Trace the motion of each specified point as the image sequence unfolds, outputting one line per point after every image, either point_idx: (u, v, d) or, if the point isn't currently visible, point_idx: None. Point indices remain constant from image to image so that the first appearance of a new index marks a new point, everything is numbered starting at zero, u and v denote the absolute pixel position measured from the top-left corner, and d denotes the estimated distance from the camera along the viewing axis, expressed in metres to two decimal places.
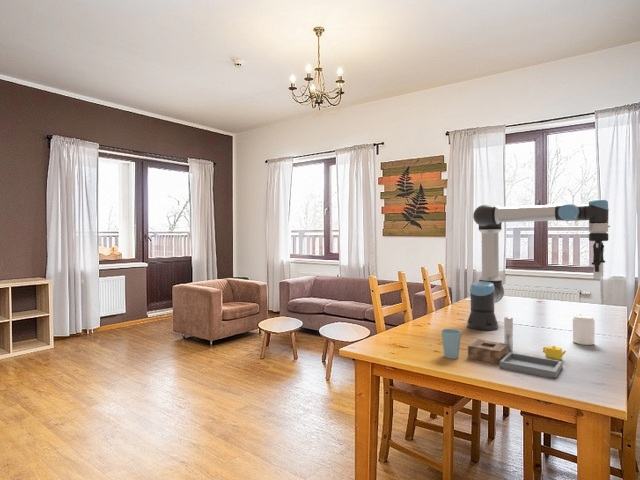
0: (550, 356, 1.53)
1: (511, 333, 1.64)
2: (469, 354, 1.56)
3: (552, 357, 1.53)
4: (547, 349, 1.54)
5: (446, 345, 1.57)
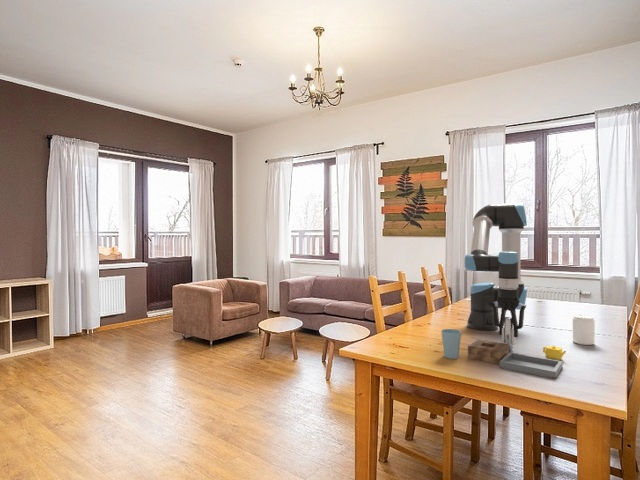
0: (550, 356, 1.53)
1: (511, 333, 1.64)
2: (469, 354, 1.56)
3: (552, 357, 1.53)
4: (547, 349, 1.54)
5: (446, 345, 1.57)
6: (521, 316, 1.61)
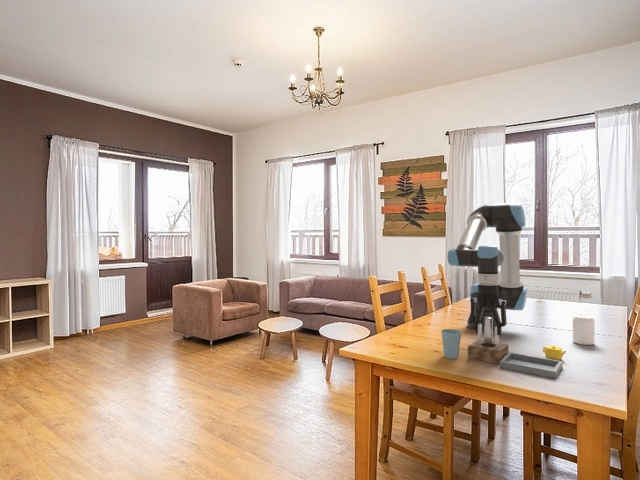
0: (550, 356, 1.53)
1: (491, 334, 1.56)
2: (469, 354, 1.56)
3: (552, 357, 1.53)
4: (547, 349, 1.54)
5: (446, 345, 1.57)
6: (503, 313, 1.52)
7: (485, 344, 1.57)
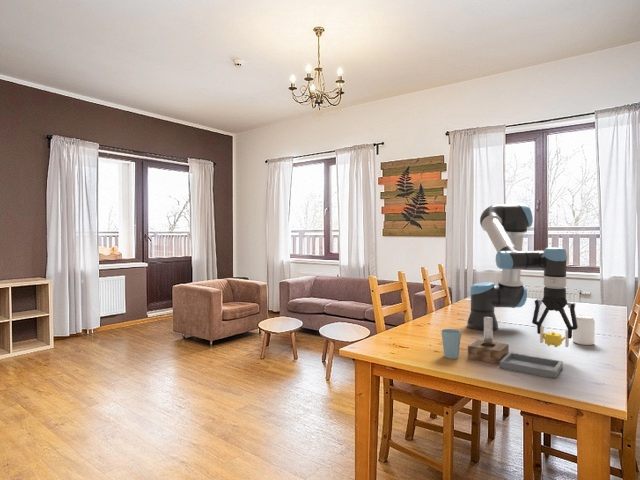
0: (549, 342, 1.54)
1: (491, 334, 1.56)
2: (469, 354, 1.56)
3: (551, 343, 1.53)
4: (546, 335, 1.55)
5: (446, 345, 1.57)
6: (573, 315, 1.50)
7: (485, 344, 1.57)
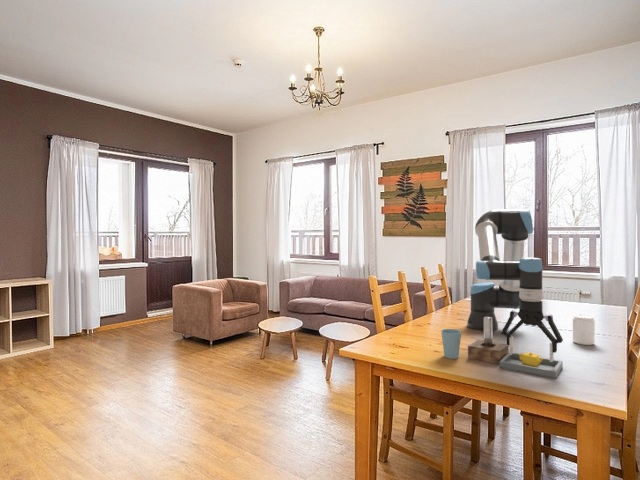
0: (526, 363, 1.43)
1: (491, 334, 1.56)
2: (469, 354, 1.56)
3: (528, 365, 1.43)
4: (523, 356, 1.44)
5: (446, 345, 1.57)
6: (554, 328, 1.39)
7: (485, 344, 1.57)
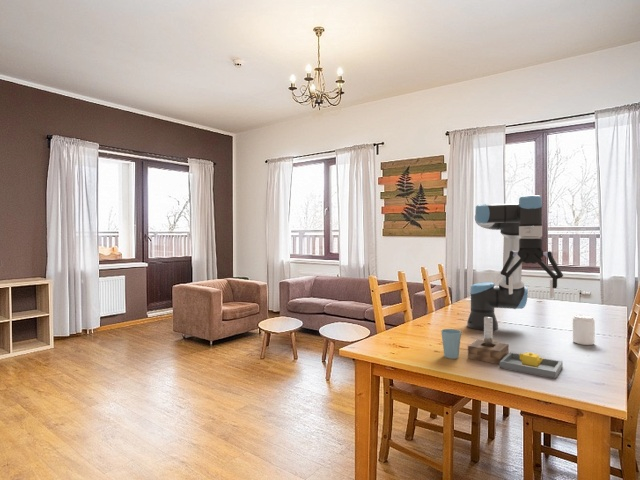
0: (526, 364, 1.43)
1: (491, 334, 1.56)
2: (469, 354, 1.56)
3: (528, 365, 1.43)
4: (523, 356, 1.44)
5: (446, 345, 1.57)
6: (554, 263, 1.38)
7: (485, 344, 1.57)
